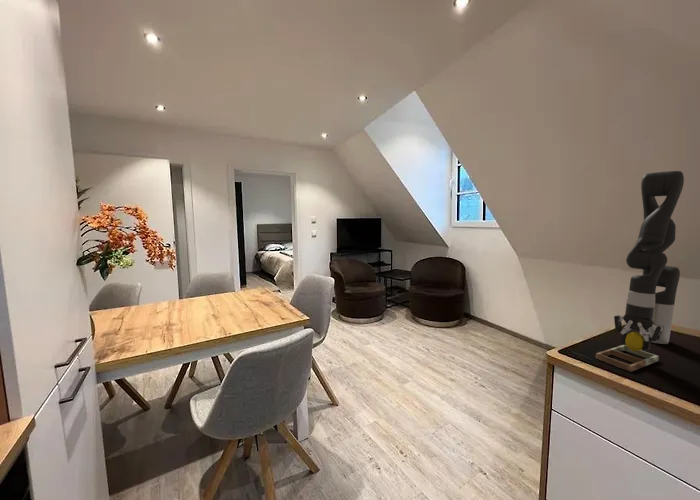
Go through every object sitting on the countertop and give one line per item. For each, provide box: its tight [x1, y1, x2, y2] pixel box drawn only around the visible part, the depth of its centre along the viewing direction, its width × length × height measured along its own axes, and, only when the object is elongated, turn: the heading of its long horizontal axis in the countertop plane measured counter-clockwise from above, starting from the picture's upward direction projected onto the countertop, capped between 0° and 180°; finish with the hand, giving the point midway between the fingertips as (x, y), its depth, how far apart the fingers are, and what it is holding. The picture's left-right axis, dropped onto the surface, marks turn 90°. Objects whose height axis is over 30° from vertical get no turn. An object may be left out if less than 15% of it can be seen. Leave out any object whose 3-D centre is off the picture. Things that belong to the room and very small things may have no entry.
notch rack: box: [595, 344, 660, 373], centre depth 112 cm, size 20×11×2 cm, turn 115°
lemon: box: [625, 330, 645, 352], centre depth 113 cm, size 6×6×8 cm
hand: (634, 346), depth 114 cm, fingers closed on lemon, 5 cm apart
